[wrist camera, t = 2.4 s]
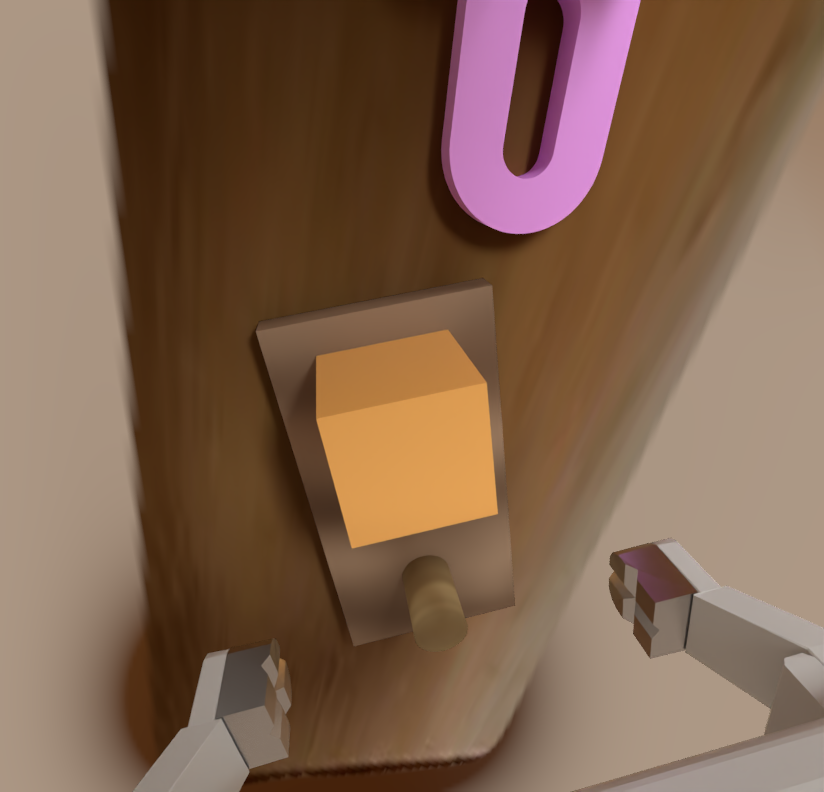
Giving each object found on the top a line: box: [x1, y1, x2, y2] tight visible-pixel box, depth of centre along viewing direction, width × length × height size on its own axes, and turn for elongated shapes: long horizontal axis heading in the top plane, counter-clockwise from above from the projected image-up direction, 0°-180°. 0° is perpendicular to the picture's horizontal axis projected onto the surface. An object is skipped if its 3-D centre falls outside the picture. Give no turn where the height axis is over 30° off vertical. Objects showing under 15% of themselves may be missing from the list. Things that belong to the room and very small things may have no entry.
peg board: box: [256, 278, 515, 652], centre depth 22 cm, size 18×9×5 cm, turn 8°
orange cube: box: [316, 330, 498, 549], centre depth 18 cm, size 5×5×5 cm
